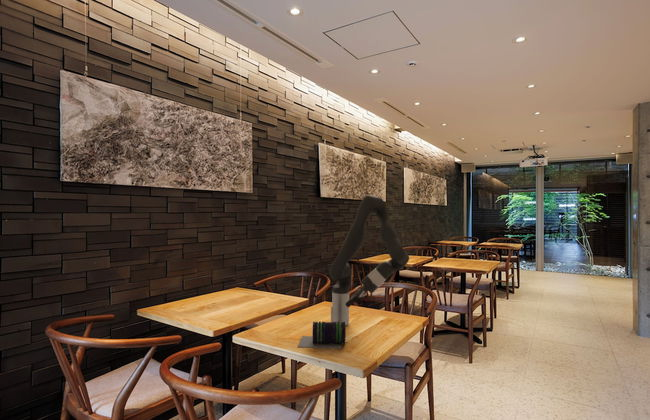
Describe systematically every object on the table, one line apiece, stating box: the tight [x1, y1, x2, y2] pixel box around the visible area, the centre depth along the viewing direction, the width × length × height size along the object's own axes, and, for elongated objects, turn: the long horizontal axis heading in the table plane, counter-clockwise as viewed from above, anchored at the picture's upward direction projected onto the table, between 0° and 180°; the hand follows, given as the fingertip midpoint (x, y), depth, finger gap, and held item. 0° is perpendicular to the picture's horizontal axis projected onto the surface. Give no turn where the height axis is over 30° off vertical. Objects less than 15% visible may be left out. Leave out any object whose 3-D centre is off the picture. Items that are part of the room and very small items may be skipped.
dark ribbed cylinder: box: [312, 321, 347, 345], centre depth 172 cm, size 10×10×15 cm
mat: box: [297, 335, 343, 350], centre depth 173 cm, size 20×14×1 cm
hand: (346, 305), depth 172 cm, fingers closed
